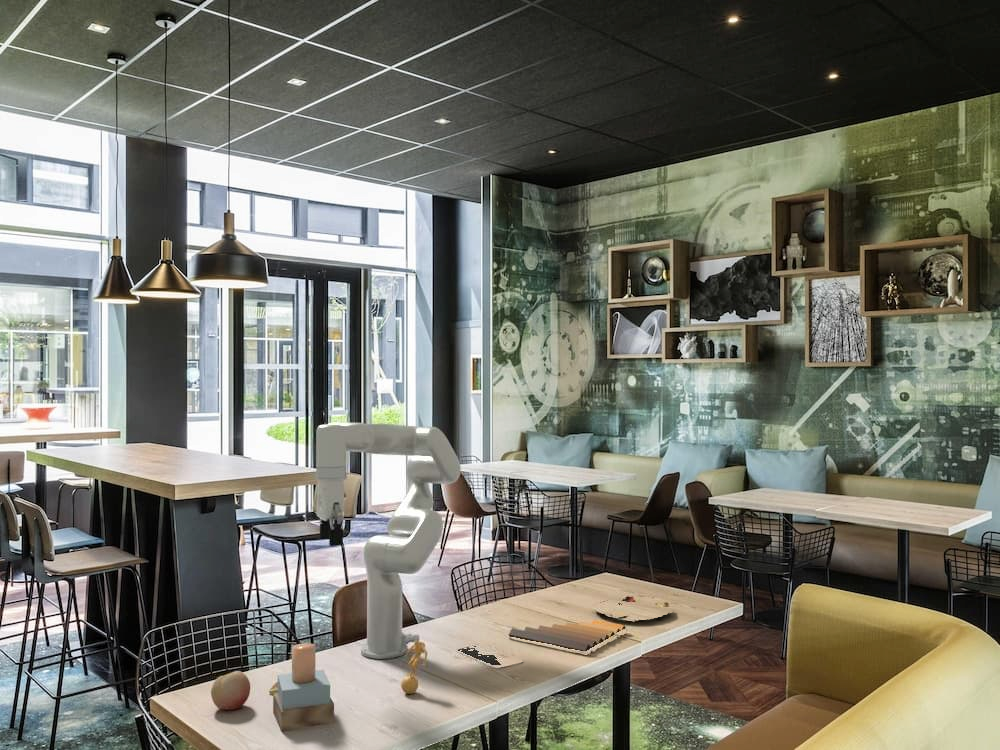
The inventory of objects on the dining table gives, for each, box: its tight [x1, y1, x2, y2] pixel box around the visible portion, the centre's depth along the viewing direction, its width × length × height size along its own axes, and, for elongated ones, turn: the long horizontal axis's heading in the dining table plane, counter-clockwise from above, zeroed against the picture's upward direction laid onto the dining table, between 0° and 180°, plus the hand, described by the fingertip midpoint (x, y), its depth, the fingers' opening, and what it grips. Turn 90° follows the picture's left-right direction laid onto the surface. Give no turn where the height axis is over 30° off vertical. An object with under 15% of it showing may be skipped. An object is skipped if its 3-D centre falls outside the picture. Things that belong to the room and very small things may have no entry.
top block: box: [277, 669, 331, 710], centre depth 173 cm, size 10×10×4 cm
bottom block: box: [272, 693, 335, 733], centre depth 173 cm, size 11×11×4 cm
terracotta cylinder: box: [291, 642, 316, 683], centre depth 173 cm, size 5×5×7 cm
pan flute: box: [508, 619, 627, 651], centre depth 230 cm, size 25×3×25 cm
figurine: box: [400, 640, 428, 695], centre depth 187 cm, size 8×6×12 cm
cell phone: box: [457, 645, 501, 665], centre depth 213 cm, size 9×18×1 cm, turn 39°
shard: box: [268, 681, 278, 695], centre depth 191 cm, size 11×8×2 cm
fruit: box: [210, 670, 251, 711], centre depth 178 cm, size 8×8×8 cm
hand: (331, 542), depth 198 cm, fingers open, 9 cm apart
